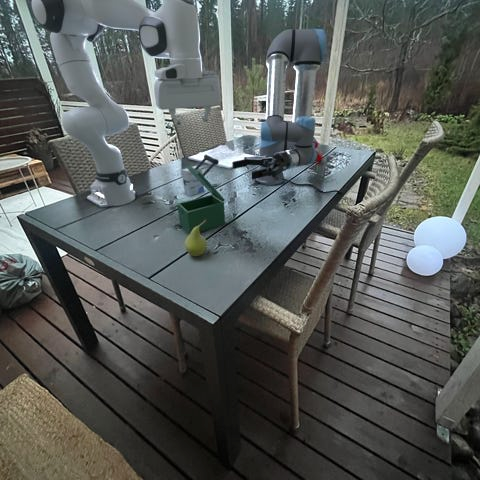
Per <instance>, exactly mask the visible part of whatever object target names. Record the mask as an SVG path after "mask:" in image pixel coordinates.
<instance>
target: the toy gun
mask: <svg viewBox="0 0 480 480" xmlns="http://www.w3.org/2000/svg"><path fill="white" fill-rule="evenodd" d="M318 147H319V142H318V141H317V139H316V138H315V147H314V148H315V149H316V153H317V157H316V160H315V161H314V162H315V164H316V165H318V164H319V163H320V162H321V163H322V161H323V159H324V156H323V155H322V154H321V153H320V152H319V151H317V148H318ZM316 162H319V163H316Z"/></svg>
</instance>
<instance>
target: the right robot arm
mask: <svg viewBox="0 0 480 480" xmlns="http://www.w3.org/2000/svg"><path fill="white" fill-rule="evenodd" d="M325 31H326V30H324V29H321V28H295V29H292V28H288V29H285V30H283V31H281V32H280V33H279V34H278V35H276V36H275V38H274V39H273V40H272V41H271V44H270V46H269V47H268V50H267V53H266V58H265V59H266V61H265V64H266V67H267V87H266V89H267V91H266V109H265V110H266V111H265V121H262V122H260V135H259V136H260V139H259V147H258V148H259V154H258V155H259V156H256V155H254V157H244V160H239V161H234V162H233V168H232V169H233V170H235V169H239V168H240V169H241V168H243V167H248V166H257V170H253V171H251V180H254V181H255V183H258V184H259V185H262V186H263V185H264V186H279V185H281V184H283V183H284V181H285V182H287V183H289V184H292V185H295V186H299V187H305V186H306V187H307V186H309V187H312V188H315V189H316V191H318V192H320V193H322V194H331V193H338V194H340V195H343V192H342V191H340V190H338V189H333V190H327V191H326V192H323V191H324V190H322V189H320V188H319V187H318V186H317V185H315V184H312V183H297V182H294V181H292V180H289V179H286V178H285V175H284V172H285V171H287V170H291V169H296V168H298V167H302V166H307V165H309V164H313V163H314V162H316V161H315V160H316V157H317V153H316V151H317V148H316V149H315V148H314V147H315V139H316V137H315V131H316V119H315V118H314V117H313V116H312V115H313V105H314V97H315V89H316V79H317V72H318V70H319V69H320V68H321V65H322V63H324V62H325V60H326V58H327V57H326V55H327V34H326V32H325ZM289 63H293V69H294V70H295V71H296V75H295V76H296V77H295V87H294V88H295V89H294V99H293V100H294V101H293V111H292V112H293V113H292V121H285V102H286V99H285V98H286V80H287V79H286V77H287V68H288V66H289ZM314 185H315V186H314ZM316 186H317V187H318V188H319V189H318V188H317V187H316ZM321 190H322V191H321Z"/></svg>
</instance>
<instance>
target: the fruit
mask: <svg viewBox="0 0 480 480" xmlns="http://www.w3.org/2000/svg"><path fill="white" fill-rule="evenodd" d="M205 222H206V219H205V220H204V222H202V223H201V224H200V225H199V226H196V227H195V228H194V229H193V230H192V231H191V233H190V234H188V236H187V237H186V238H185V241H184V248H185V251H186V252H187V253H188V254H189V256H193V257H199V256H200V257H201V256H202V255H203V254H204V253H205V251H206V250H207V247H208V242H207V239H206V238H205V237H204V236H203V235H201V232H199V227H200V226H201V225H202V224H203V223H205Z"/></svg>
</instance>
